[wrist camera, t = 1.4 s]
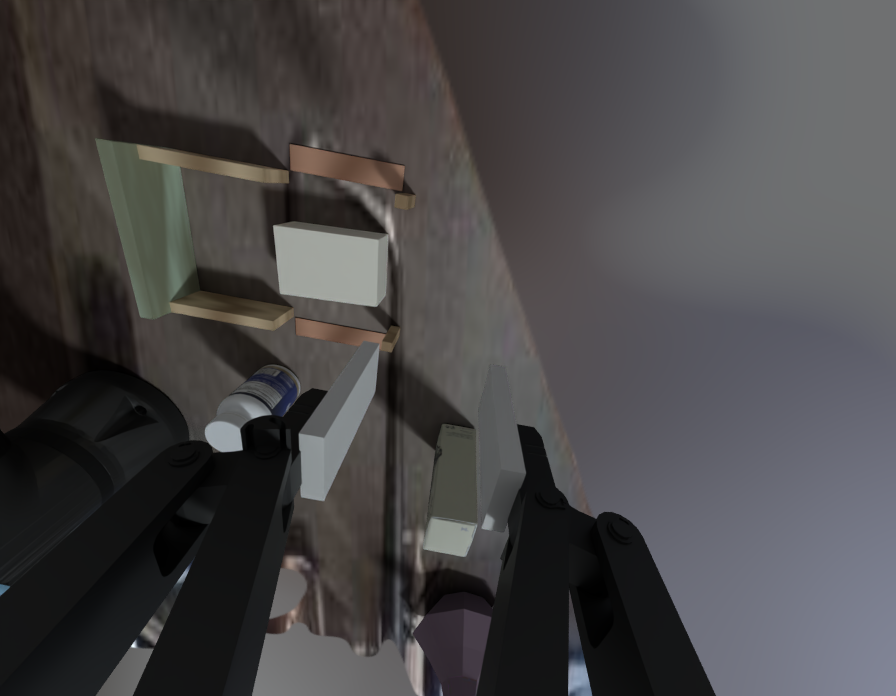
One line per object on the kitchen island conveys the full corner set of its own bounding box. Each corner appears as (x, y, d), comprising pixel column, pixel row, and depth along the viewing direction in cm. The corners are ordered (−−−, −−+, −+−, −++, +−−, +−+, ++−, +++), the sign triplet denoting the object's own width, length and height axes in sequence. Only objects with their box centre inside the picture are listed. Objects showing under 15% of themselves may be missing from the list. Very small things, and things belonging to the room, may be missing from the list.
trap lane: (193, 315, 37) (145, 337, 31) (158, 118, 29) (86, 103, 23) (397, 352, 37) (384, 381, 32) (419, 168, 29) (406, 164, 24)
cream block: (300, 282, 34) (280, 293, 31) (295, 221, 32) (273, 225, 28) (386, 294, 34) (376, 307, 31) (389, 233, 32) (378, 239, 28)
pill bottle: (286, 409, 41) (236, 469, 33) (248, 382, 40) (186, 437, 31) (310, 383, 40) (264, 440, 31) (272, 354, 38) (212, 404, 29)
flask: (414, 575, 55) (386, 765, 37) (515, 582, 54) (537, 780, 36) (418, 629, 62) (396, 810, 44) (507, 635, 61) (522, 823, 43)
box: (441, 421, 41) (429, 514, 29) (477, 428, 41) (479, 523, 29) (434, 453, 43) (420, 551, 31) (467, 459, 43) (466, 559, 32)
